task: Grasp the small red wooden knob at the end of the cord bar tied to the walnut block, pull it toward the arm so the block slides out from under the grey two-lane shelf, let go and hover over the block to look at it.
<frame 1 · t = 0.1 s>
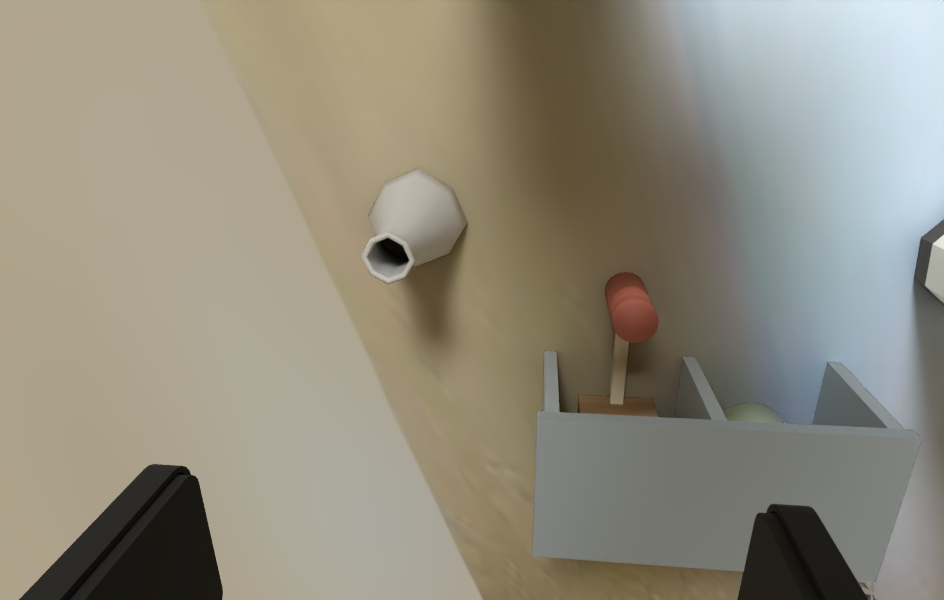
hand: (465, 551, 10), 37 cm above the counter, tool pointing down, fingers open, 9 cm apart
lane shelf: (680, 420, 50), on the counter
jar: (746, 433, 50), on the counter
flask: (418, 217, 46), on the counter
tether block: (612, 426, 51), on the counter
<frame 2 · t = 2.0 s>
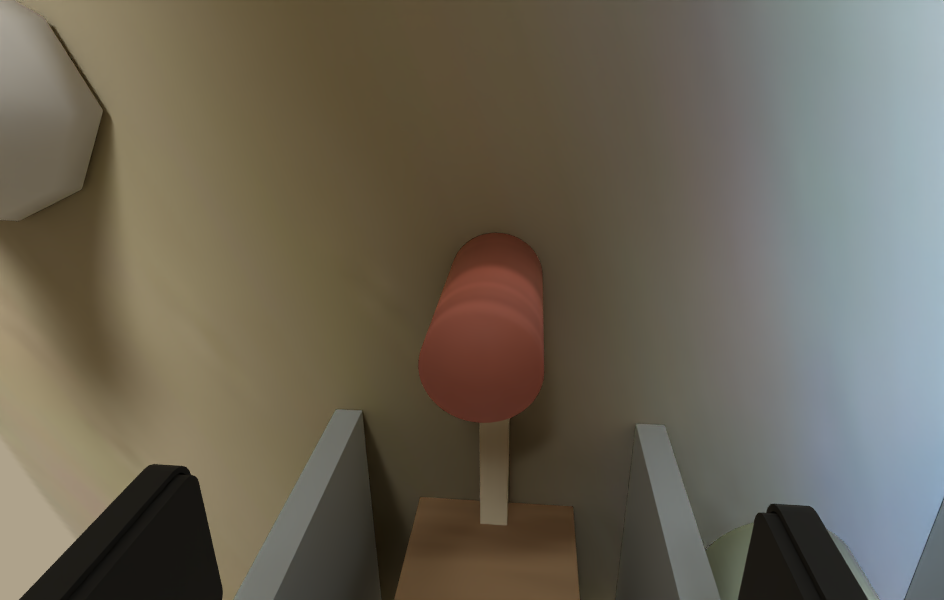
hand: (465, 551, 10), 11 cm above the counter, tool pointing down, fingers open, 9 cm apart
lane shelf: (634, 550, 24), on the counter
jar: (773, 577, 24), on the counter
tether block: (495, 558, 25), on the counter
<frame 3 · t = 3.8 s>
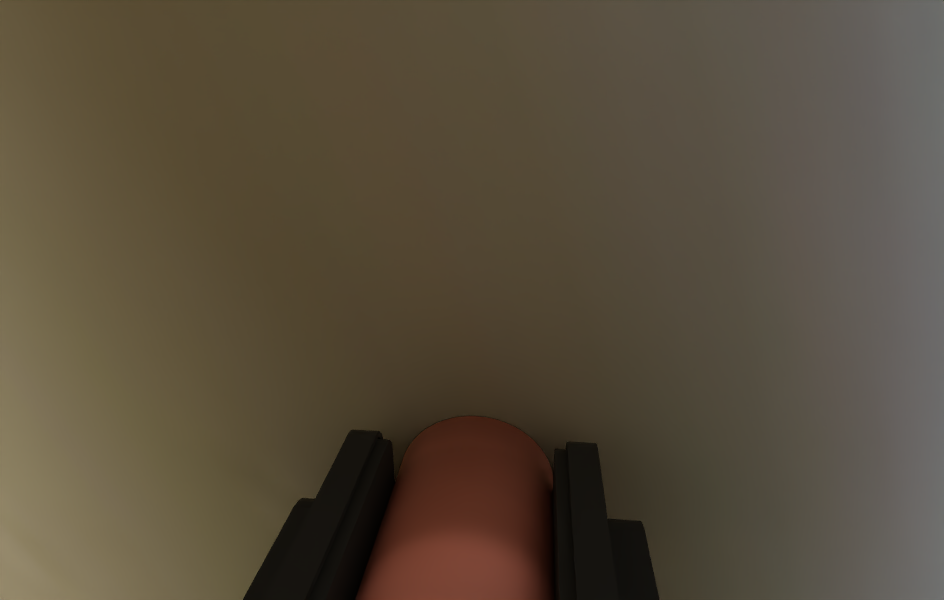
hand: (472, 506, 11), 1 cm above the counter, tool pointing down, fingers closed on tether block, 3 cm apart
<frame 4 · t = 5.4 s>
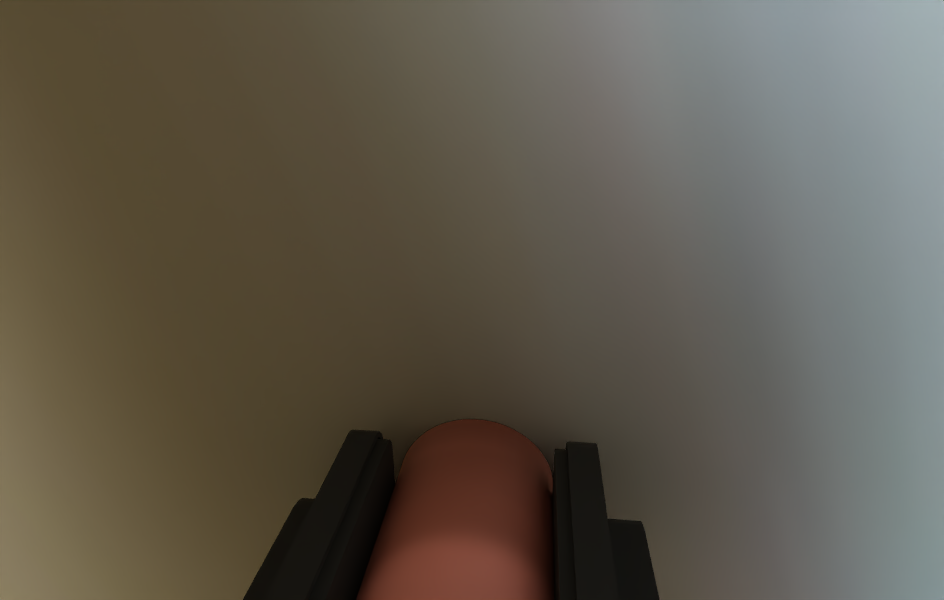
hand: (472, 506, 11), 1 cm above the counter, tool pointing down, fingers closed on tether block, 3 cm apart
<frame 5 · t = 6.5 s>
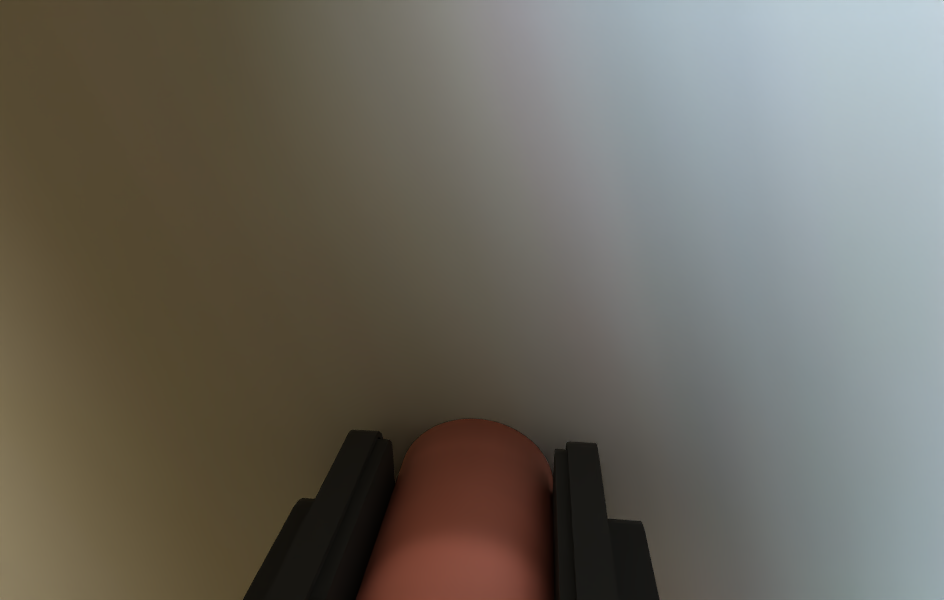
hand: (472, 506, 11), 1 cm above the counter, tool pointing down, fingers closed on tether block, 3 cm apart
when the fingers open (1 cm above the counter, at t = 7.1 s): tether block stays where it is, on the counter.
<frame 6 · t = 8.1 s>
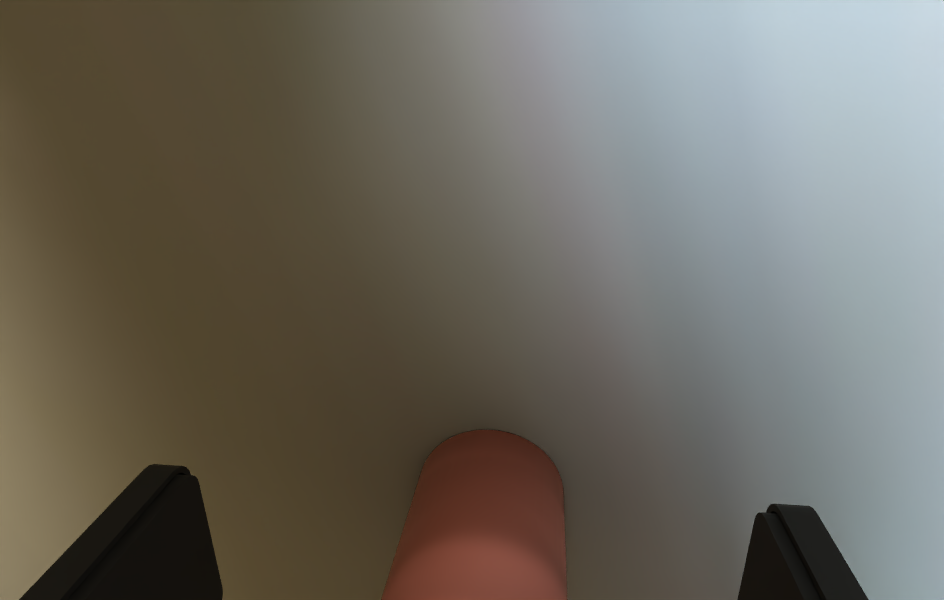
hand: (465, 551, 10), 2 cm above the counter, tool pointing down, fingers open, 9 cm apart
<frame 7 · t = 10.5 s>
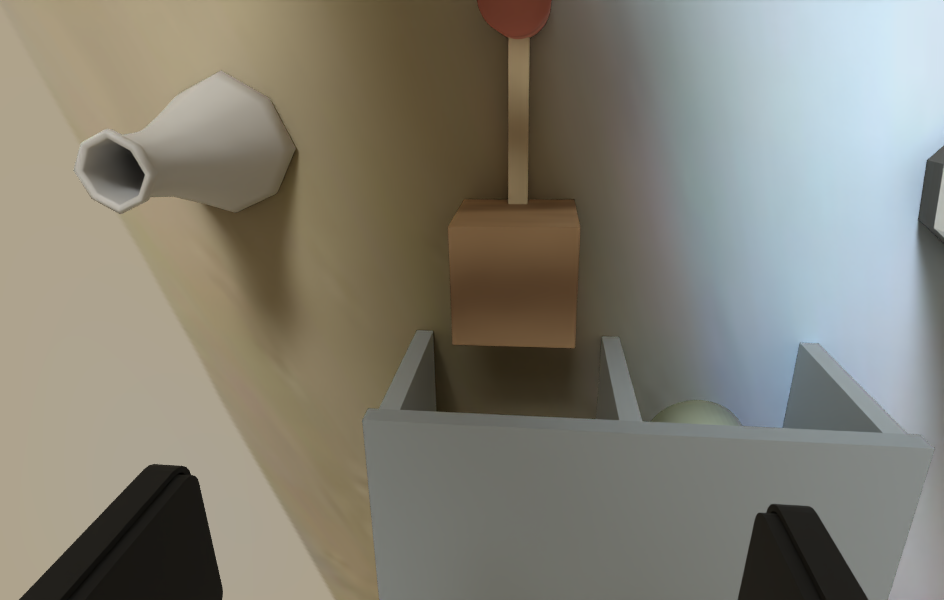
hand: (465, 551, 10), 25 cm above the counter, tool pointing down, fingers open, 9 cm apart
lane shelf: (603, 424, 37), on the counter
jar: (693, 442, 37), on the counter
flask: (233, 143, 34), on the counter
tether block: (518, 252, 34), on the counter
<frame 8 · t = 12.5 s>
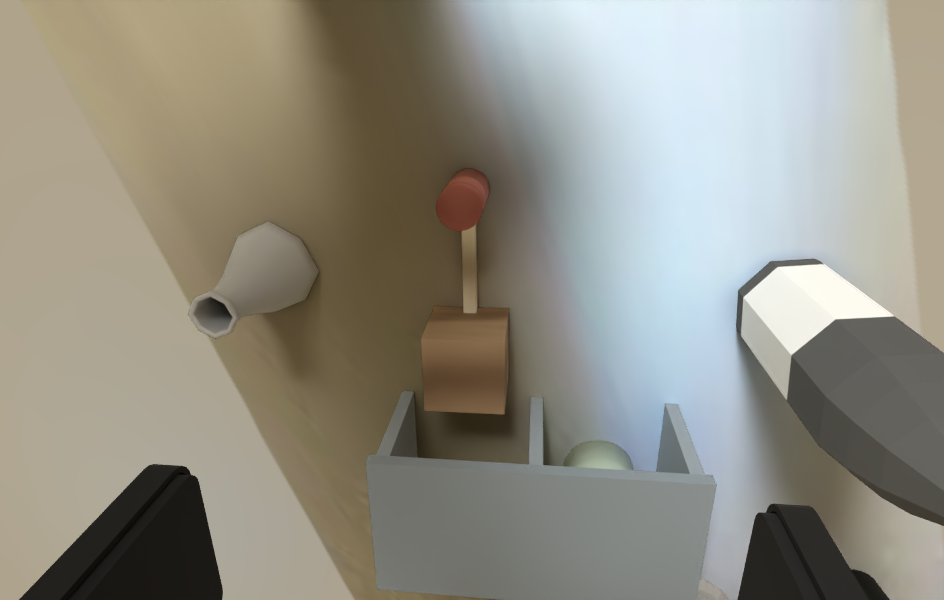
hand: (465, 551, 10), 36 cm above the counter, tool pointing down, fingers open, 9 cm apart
lane shelf: (534, 456, 53), on the counter
jar: (597, 469, 53), on the counter
wine bottle: (786, 304, 45), on the counter
flask: (275, 265, 49), on the counter
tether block: (472, 340, 49), on the counter
cup: (843, 590, 55), on the counter
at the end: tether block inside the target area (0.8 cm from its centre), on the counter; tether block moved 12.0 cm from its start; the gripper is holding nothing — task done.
